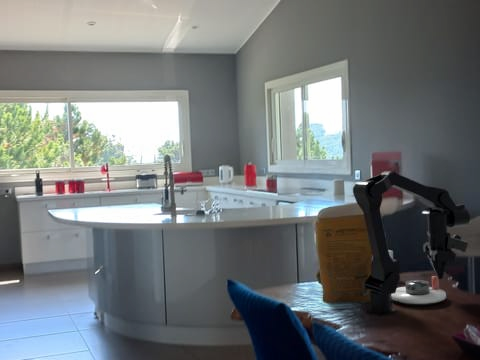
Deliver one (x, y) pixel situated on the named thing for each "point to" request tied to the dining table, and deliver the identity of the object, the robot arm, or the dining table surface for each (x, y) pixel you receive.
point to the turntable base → (418, 304)
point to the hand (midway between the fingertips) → (440, 278)
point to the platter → (432, 297)
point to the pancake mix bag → (343, 258)
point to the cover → (417, 287)
